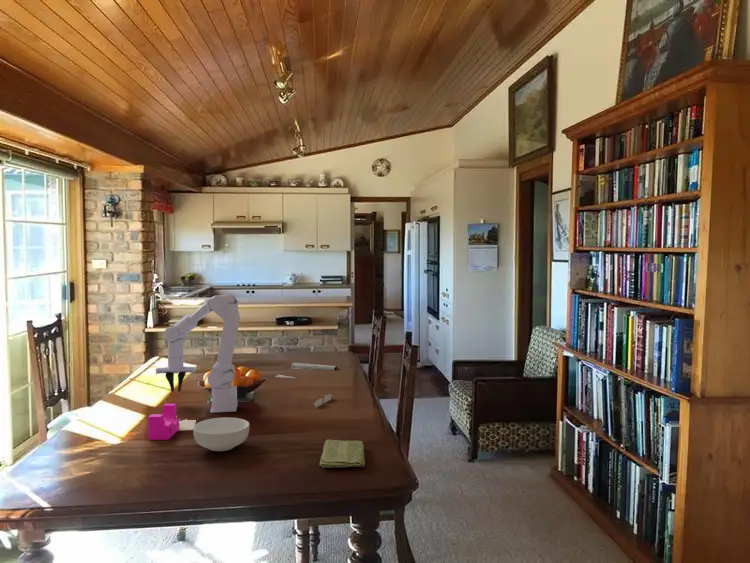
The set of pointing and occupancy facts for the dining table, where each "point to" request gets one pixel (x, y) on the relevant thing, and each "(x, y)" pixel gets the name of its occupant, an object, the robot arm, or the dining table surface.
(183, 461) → the dining table surface
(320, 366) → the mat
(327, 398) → the eyeglasses
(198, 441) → the cereal bowl
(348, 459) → the washcloth
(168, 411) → the toy block
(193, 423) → the white flat panel
